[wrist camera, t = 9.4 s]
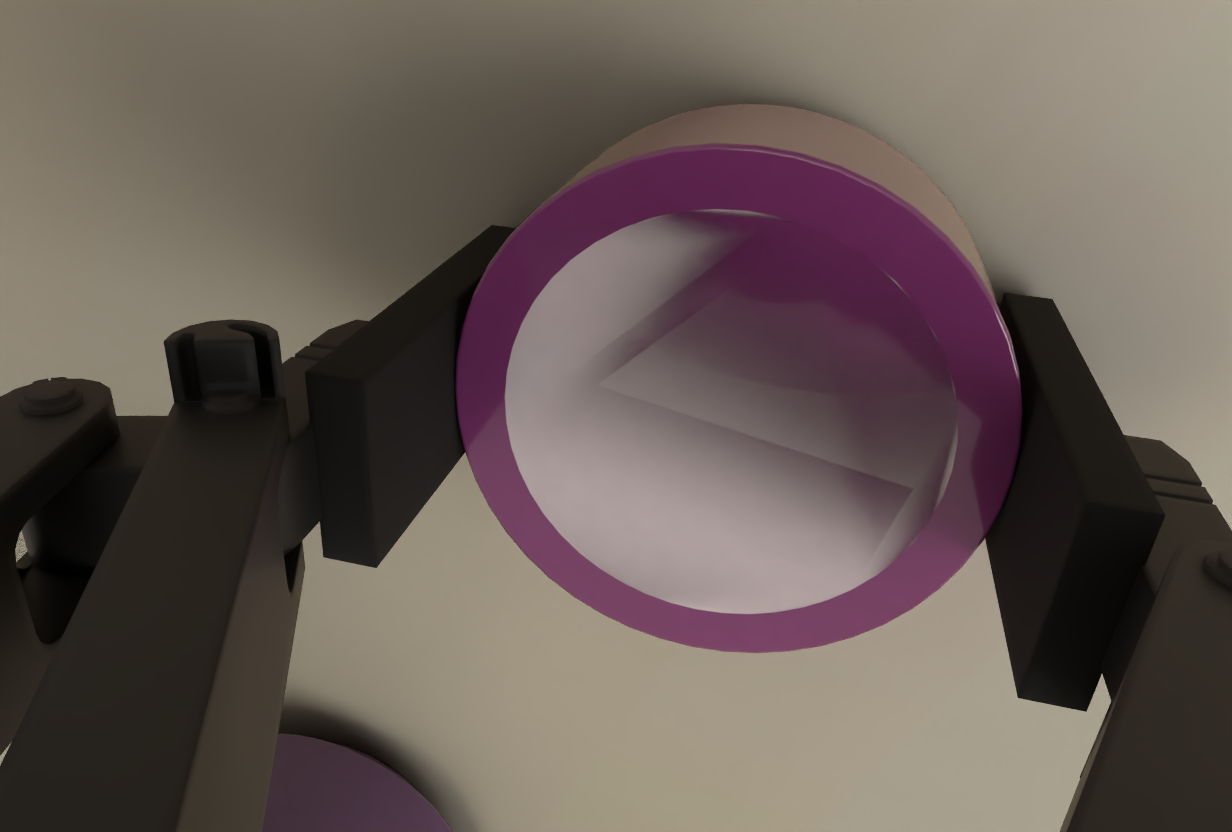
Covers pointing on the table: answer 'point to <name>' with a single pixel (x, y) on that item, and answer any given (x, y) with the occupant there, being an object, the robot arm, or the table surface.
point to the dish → (742, 383)
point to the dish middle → (341, 792)
